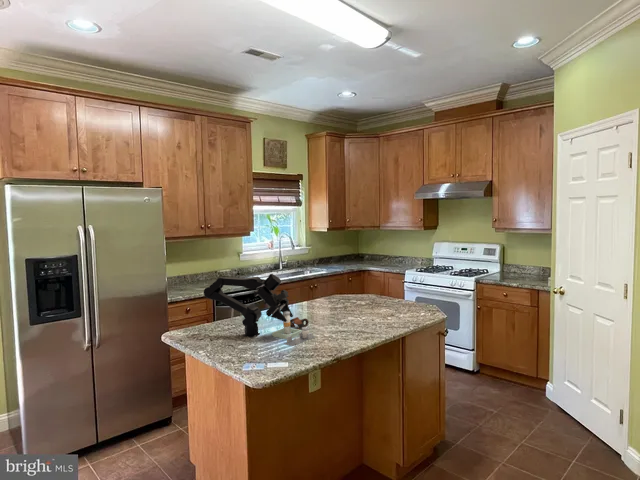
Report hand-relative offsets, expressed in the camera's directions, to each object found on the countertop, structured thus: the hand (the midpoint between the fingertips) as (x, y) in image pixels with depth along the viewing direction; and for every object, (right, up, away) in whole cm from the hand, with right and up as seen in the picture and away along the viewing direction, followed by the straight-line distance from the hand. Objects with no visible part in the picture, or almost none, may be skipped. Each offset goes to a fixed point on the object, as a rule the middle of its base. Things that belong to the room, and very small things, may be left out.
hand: (289, 319), depth 207 cm
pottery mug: (+4, -9, +12) cm, 15 cm away
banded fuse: (-1, -9, +1) cm, 9 cm away
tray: (-1, -9, +1) cm, 9 cm away
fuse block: (+6, -10, -8) cm, 14 cm away
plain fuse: (+8, -8, -5) cm, 13 cm away
